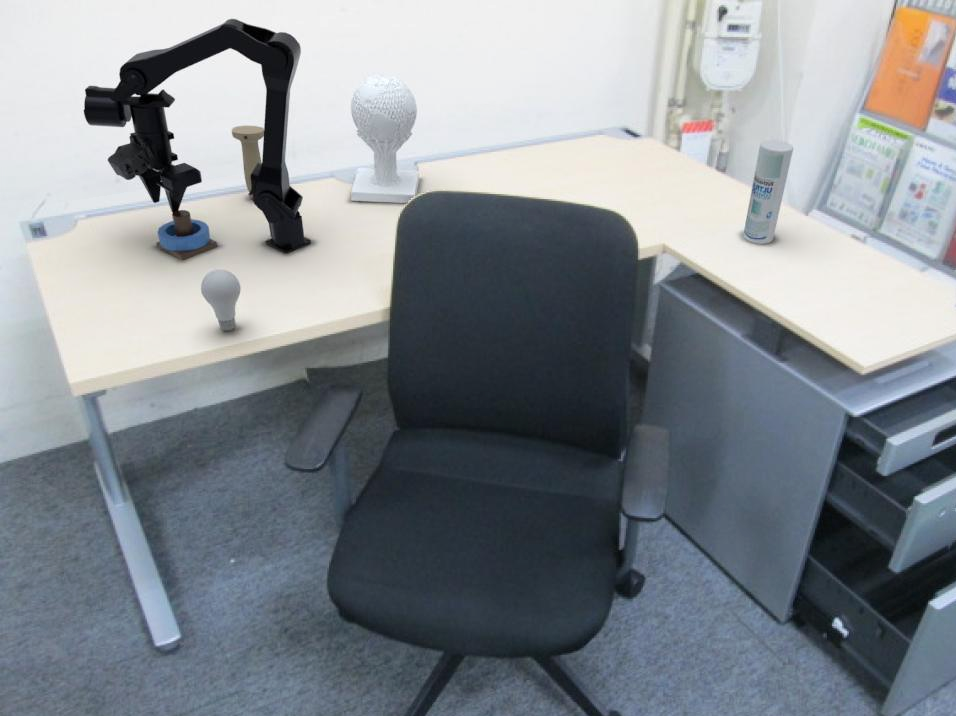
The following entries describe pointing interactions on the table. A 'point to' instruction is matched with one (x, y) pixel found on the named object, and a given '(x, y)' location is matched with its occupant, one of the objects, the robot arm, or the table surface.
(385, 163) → the trophy
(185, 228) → the peg stand
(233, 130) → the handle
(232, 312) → the lightbulb
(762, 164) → the spray can
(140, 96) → the robot arm
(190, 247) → the tape
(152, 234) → the table surface
